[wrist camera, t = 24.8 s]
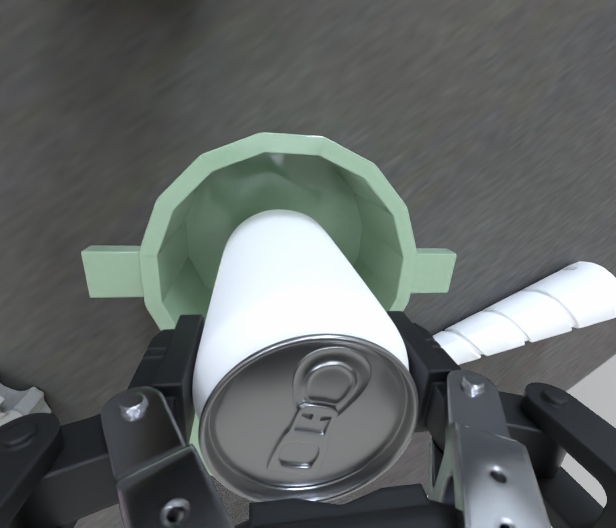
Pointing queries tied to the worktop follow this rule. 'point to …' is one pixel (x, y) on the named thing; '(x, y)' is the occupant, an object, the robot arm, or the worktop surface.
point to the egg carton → (20, 403)
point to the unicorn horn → (535, 313)
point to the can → (298, 368)
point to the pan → (257, 198)
